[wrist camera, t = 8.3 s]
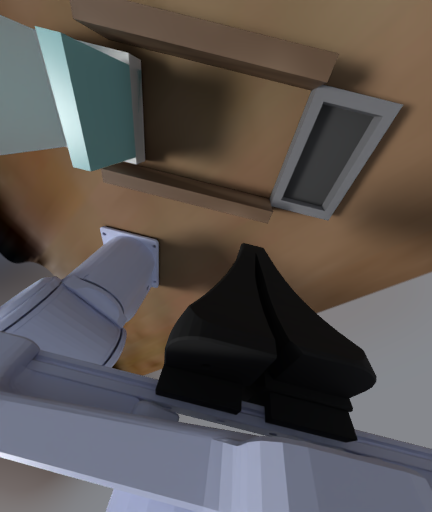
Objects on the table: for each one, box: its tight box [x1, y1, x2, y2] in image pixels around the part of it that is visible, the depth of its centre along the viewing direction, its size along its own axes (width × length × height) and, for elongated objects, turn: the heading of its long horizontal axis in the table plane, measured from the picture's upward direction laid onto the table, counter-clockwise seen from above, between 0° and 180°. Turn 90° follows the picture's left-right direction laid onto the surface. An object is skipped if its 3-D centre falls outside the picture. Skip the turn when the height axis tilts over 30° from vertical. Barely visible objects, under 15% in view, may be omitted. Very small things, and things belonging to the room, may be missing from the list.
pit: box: [270, 85, 403, 220], centre depth 16 cm, size 9×6×2 cm, turn 169°
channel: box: [70, 0, 339, 224], centre depth 15 cm, size 11×16×4 cm
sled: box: [0, 15, 145, 171], centre depth 13 cm, size 7×8×8 cm
